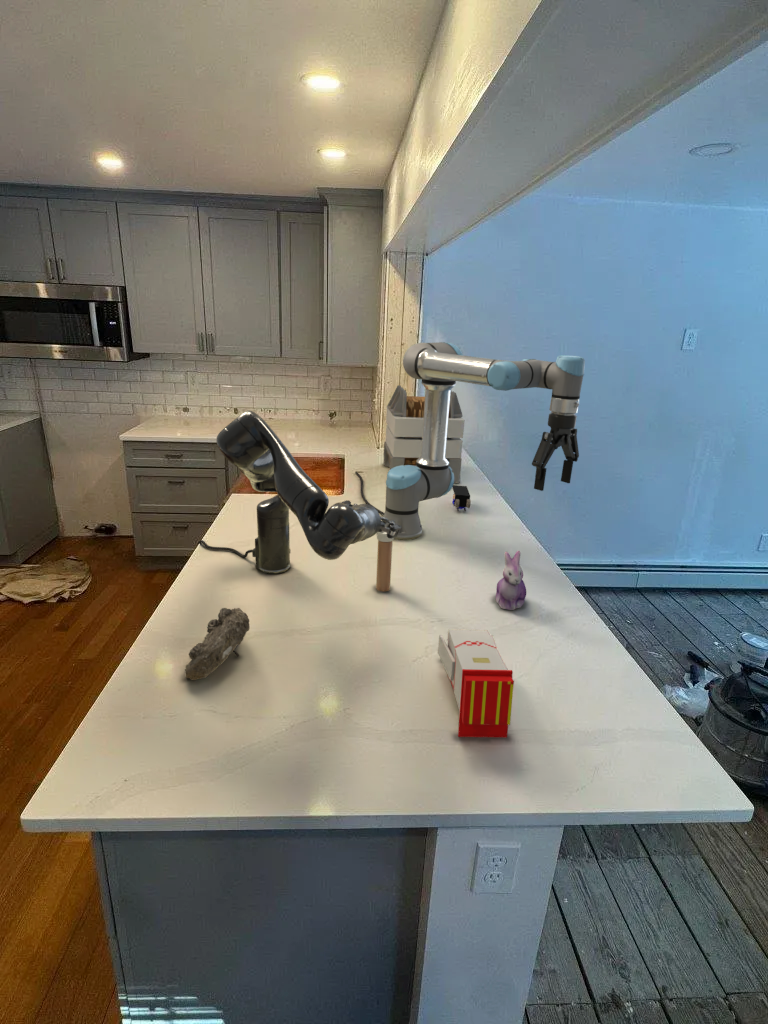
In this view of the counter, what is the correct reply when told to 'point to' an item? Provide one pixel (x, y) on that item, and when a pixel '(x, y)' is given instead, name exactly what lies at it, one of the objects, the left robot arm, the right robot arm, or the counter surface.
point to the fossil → (217, 643)
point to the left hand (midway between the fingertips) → (376, 516)
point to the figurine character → (461, 497)
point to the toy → (478, 682)
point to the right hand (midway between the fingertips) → (552, 485)
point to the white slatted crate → (419, 431)
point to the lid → (383, 537)
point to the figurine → (511, 584)
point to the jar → (384, 566)
